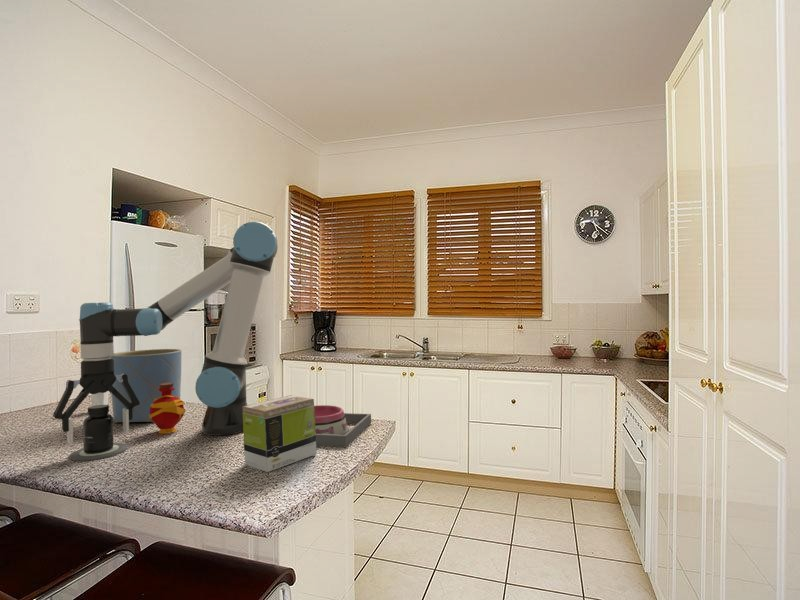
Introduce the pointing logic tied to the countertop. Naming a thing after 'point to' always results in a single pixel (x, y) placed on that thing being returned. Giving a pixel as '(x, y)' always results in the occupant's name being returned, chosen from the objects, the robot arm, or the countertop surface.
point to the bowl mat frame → (346, 439)
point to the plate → (82, 456)
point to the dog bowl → (330, 420)
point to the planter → (145, 379)
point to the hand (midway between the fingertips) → (99, 437)
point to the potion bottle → (166, 409)
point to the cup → (100, 399)
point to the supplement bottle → (98, 430)
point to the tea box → (279, 432)
